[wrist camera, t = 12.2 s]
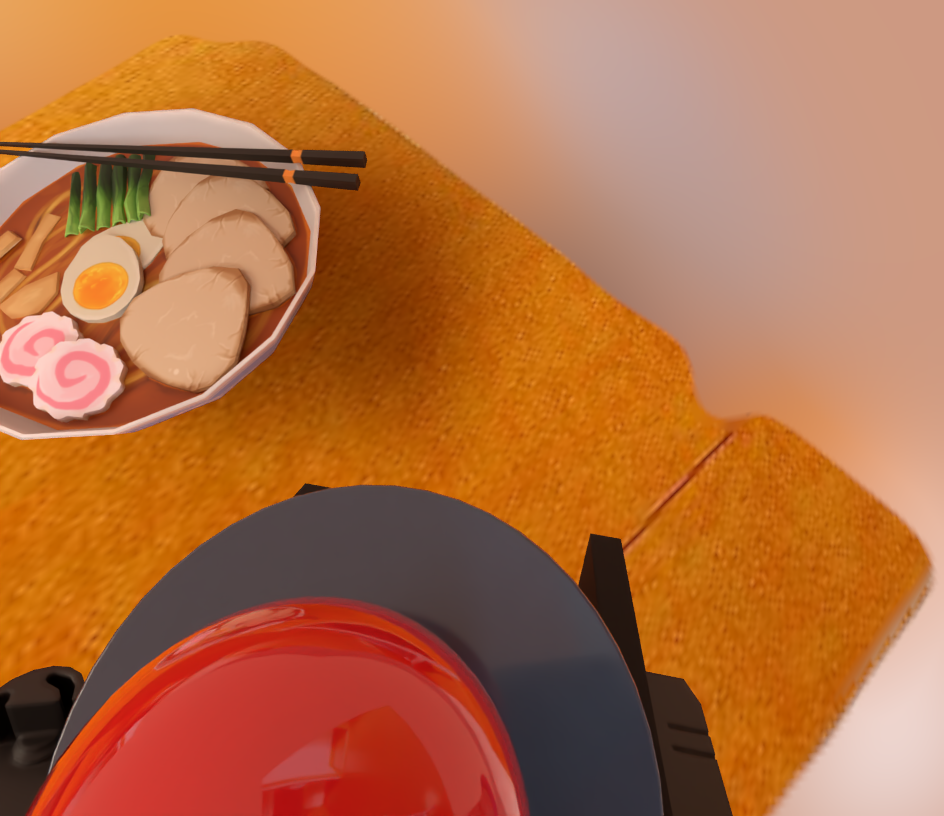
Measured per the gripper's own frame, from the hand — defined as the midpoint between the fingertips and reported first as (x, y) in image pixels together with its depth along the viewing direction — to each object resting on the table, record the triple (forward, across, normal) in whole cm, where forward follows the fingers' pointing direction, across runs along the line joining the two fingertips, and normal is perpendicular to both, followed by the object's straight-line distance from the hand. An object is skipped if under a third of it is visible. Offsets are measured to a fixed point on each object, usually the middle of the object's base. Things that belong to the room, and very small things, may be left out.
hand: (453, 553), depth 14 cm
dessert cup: (0, 0, -5) cm, 5 cm away
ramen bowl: (+21, -22, -1) cm, 31 cm away
